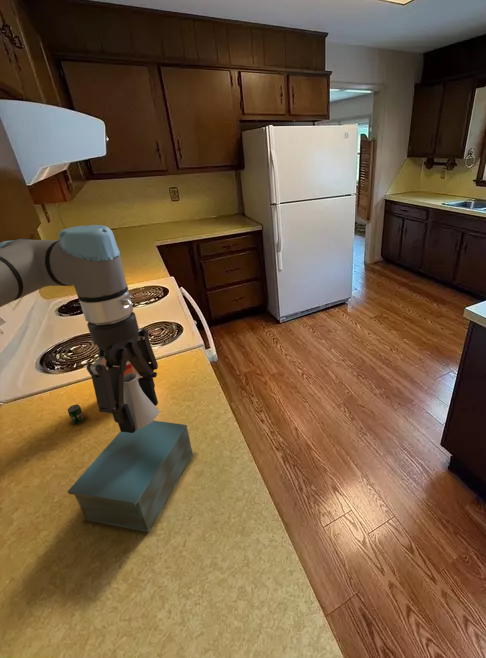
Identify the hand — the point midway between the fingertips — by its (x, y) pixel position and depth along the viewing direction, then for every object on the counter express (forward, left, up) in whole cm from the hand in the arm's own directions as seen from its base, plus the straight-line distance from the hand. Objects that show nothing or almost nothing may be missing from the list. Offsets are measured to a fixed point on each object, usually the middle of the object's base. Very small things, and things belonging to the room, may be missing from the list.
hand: (140, 416), depth 67 cm
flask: (0, 0, 0) cm, 0 cm away
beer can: (-29, +10, -15) cm, 34 cm away
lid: (0, -4, -6) cm, 8 cm away
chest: (0, -4, -15) cm, 16 cm away
